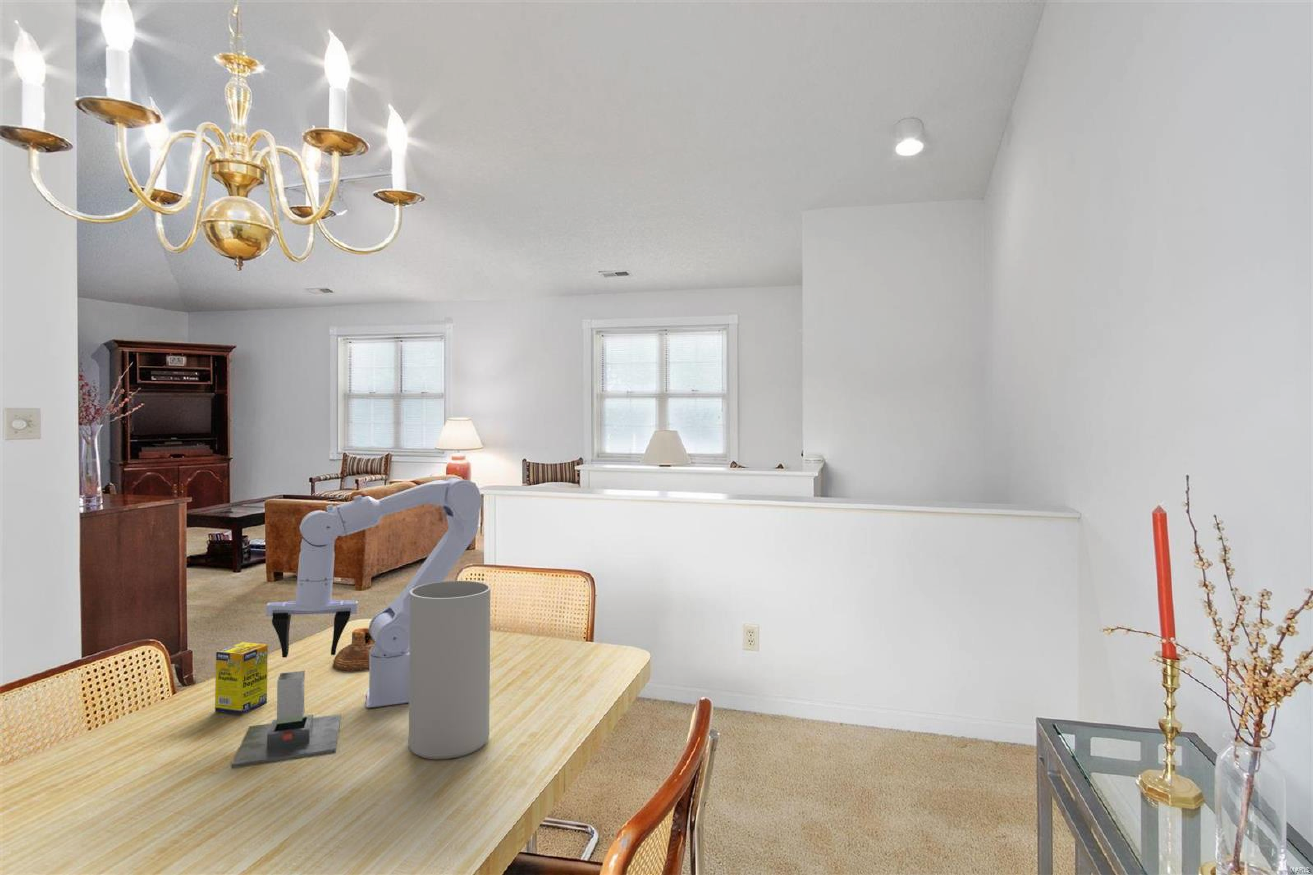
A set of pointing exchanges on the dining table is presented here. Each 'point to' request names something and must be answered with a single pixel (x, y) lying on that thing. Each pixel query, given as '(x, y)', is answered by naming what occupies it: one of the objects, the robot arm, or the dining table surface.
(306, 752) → the stand base
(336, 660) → the bell
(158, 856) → the dining table surface
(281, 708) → the column
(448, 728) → the cylinder vase
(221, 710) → the supplement box
